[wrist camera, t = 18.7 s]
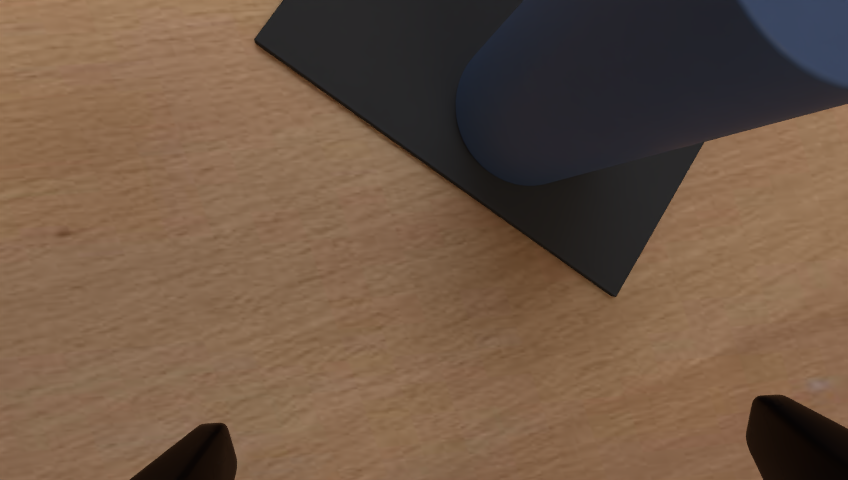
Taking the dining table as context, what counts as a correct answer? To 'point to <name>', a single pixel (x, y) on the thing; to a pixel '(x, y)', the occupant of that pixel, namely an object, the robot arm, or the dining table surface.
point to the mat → (438, 129)
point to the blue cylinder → (643, 79)
